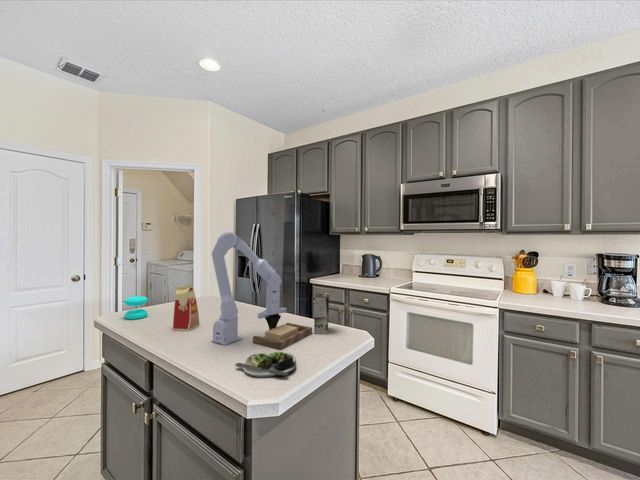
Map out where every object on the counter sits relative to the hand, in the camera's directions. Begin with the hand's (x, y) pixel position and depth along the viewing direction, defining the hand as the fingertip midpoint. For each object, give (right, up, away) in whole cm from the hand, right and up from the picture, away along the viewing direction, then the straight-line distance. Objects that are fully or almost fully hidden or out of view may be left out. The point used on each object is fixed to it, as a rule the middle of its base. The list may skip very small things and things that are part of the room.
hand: (272, 331), depth 128 cm
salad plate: (+5, -3, -31) cm, 31 cm away
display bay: (+5, -2, -3) cm, 6 cm away
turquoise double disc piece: (-73, 0, +23) cm, 76 cm away
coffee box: (+21, -2, +7) cm, 22 cm away
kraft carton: (+5, -2, -3) cm, 6 cm away
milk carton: (-41, -1, +8) cm, 42 cm away
